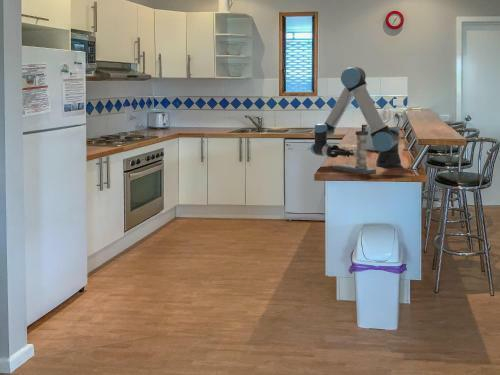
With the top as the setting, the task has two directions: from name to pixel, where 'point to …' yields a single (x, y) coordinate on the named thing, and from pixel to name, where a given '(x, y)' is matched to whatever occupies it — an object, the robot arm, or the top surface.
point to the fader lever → (361, 149)
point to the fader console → (354, 169)
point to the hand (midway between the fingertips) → (358, 154)
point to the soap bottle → (369, 140)
